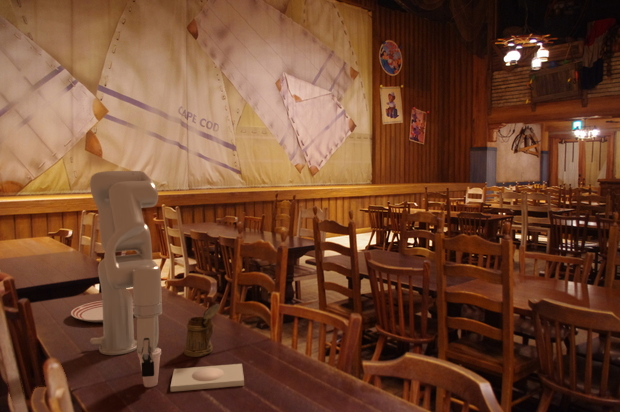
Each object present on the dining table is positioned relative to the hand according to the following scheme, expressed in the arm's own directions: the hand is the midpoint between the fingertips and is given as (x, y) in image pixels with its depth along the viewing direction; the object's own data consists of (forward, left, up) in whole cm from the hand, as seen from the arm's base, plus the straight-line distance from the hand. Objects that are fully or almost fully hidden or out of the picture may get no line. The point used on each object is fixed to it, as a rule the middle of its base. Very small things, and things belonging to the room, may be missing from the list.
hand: (150, 369), depth 143 cm
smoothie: (0, 0, -5) cm, 5 cm away
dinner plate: (-26, +72, -5) cm, 77 cm away
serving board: (+16, 0, -4) cm, 17 cm away
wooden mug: (+14, +21, -5) cm, 26 cm away
